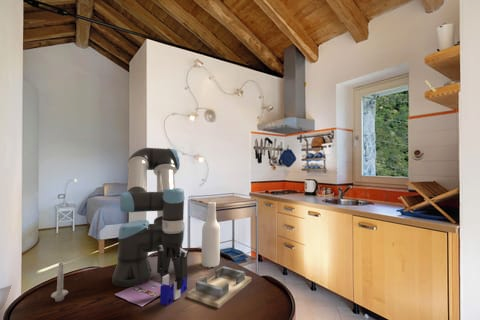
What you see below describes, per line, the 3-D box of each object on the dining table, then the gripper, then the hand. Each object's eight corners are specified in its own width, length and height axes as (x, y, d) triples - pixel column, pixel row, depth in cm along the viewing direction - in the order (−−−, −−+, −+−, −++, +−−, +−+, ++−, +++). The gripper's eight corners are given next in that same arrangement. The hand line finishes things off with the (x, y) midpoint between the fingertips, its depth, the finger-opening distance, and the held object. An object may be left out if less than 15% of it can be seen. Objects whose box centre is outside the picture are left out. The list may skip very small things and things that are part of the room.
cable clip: (177, 287, 98) (177, 271, 98) (186, 289, 96) (187, 273, 97) (156, 302, 87) (156, 285, 87) (167, 305, 85) (167, 287, 85)
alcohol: (214, 259, 128) (215, 200, 129) (222, 265, 121) (224, 203, 121) (198, 263, 123) (199, 201, 124) (206, 269, 116) (207, 204, 116)
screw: (47, 302, 85) (59, 295, 90) (59, 304, 85) (71, 296, 89) (48, 263, 86) (61, 258, 91) (60, 265, 85) (72, 260, 90)
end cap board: (186, 296, 91) (187, 284, 91) (223, 273, 112) (223, 263, 112) (218, 308, 84) (218, 294, 84) (251, 281, 105) (251, 270, 105)
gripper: (147, 229, 93) (145, 293, 92) (184, 237, 84) (182, 308, 83) (162, 225, 99) (161, 285, 99) (198, 232, 90) (197, 298, 89)
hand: (171, 295), depth 91 cm, fingers closed on cable clip, 5 cm apart
